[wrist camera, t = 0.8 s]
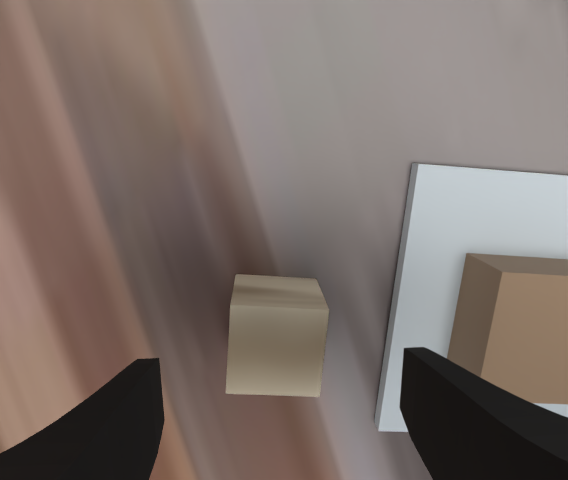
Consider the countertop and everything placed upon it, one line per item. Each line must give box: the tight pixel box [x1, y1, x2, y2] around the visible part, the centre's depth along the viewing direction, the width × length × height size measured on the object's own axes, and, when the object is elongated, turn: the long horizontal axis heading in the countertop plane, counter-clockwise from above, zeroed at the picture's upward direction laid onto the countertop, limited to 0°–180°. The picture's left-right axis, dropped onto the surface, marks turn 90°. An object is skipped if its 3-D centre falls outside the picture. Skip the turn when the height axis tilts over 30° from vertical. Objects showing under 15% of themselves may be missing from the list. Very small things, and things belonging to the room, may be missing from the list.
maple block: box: [226, 274, 329, 397], centre depth 19 cm, size 4×4×4 cm
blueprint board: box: [374, 163, 568, 432], centre depth 19 cm, size 14×12×4 cm
